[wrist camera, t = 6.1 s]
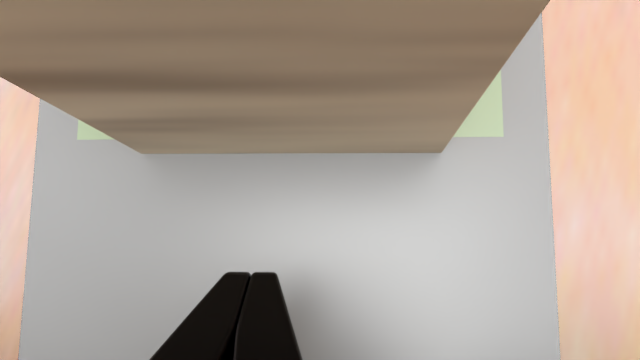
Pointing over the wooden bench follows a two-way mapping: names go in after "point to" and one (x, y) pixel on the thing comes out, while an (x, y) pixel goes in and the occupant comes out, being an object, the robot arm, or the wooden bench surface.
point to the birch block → (264, 69)
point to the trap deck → (304, 238)
